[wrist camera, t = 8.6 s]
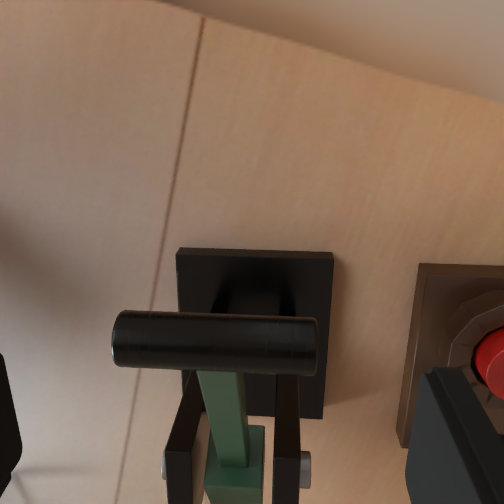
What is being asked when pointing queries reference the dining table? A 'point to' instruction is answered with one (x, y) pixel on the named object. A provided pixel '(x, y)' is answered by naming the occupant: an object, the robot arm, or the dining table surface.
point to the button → (492, 361)
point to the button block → (451, 332)
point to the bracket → (256, 385)
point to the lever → (221, 379)
